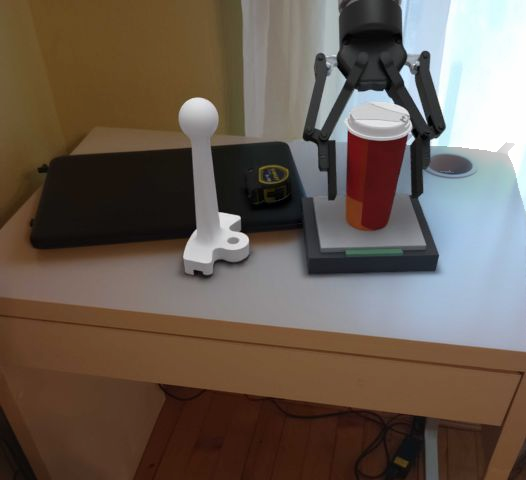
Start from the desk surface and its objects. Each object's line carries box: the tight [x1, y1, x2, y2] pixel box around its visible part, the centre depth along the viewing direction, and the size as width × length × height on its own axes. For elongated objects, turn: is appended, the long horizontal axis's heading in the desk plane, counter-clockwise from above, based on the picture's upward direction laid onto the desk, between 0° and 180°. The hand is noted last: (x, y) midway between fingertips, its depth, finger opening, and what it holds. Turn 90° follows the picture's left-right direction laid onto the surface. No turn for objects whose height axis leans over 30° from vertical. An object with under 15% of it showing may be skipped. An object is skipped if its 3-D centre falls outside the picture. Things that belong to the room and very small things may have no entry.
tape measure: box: [242, 163, 294, 206], centre depth 91 cm, size 7×7×4 cm
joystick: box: [178, 97, 250, 276], centre depth 75 cm, size 11×8×20 cm
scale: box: [300, 193, 440, 275], centre depth 83 cm, size 16×14×3 cm
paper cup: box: [343, 101, 412, 231], centre depth 77 cm, size 8×8×14 cm
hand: (374, 196), depth 76 cm, fingers open, 9 cm apart
